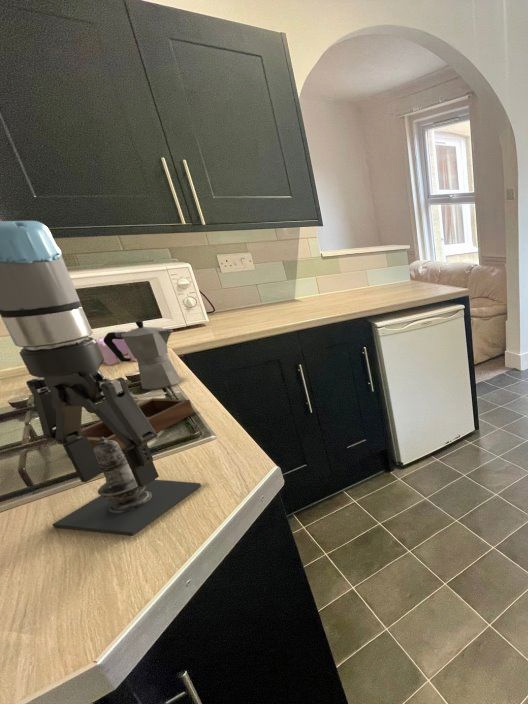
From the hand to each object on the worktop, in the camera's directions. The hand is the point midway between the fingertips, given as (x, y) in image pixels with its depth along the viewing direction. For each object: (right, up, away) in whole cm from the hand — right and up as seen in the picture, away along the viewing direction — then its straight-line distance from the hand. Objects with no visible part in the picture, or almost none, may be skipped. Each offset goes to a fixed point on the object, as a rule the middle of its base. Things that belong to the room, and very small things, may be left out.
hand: (120, 479), depth 65 cm
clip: (-70, +25, +78) cm, 108 cm away
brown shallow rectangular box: (-20, +5, +26) cm, 33 cm away
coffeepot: (-38, +15, +52) cm, 66 cm away
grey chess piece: (0, -4, +2) cm, 5 cm away
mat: (0, -5, +2) cm, 5 cm away
